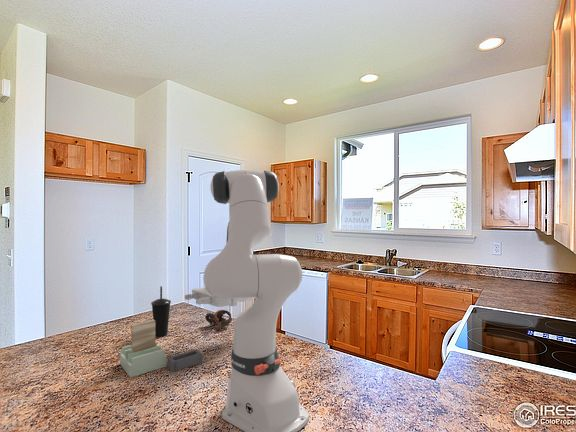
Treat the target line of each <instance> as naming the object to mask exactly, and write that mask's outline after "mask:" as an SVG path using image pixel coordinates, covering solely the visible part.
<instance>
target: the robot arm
mask: <svg viewBox="0 0 576 432" xmlns="http://www.w3.org/2000/svg"><path fill="white" fill-rule="evenodd" d="M209 186H210V187H209V188H210V192H211V193H210V194H211V196H212V197H213V199H214V200H215V202H216V203H219V204H223V205H227V204H229V207H228V208H229V209H228V210H229V222H228V223H227V227H226V229H227V230H226V244H225V246H224V247H223V249H222V250H221V251H220V252H219V253H218V254H217V255H216V256H215V257H213V258H212V259H211V260H210V261H209V262H208V264H207V265H206V267H205V269H204V271H203V272H204V273H203V277H202V279H203V285H204V287H198V288H197V287H196V288H193V289H191V292H190V293H187V294H184V300H186V301H187V300H188V301H189V300H191V299H194V300H195V304H197V305H210V306H213V307H218V308H219V307H220V308H221V307H235V306H237V305H238V304H237V303H245V302H249V301H252V300H254V299H255V300H254V302H253V303H252V304H251V305H250V307H248V308H246V309H245V310H243V311H242V312H240V313H239V314H238V315H236V318H235V320H234V321H233V325H232V327H233V329H232V330H233V331H232V333H233V334H232V339H233V340H232V341H233V342H232V349H231V355H230V361H231V364H230V365H231V367H232V369H231V372H230V375H229V377H228V380H227V388H226V400H225V407H224V408H223V410H222V412H221V418H222V419H223V420H224V421H226V422H228V423H229V424H231V425H233V426H234V427H237V428H238V429H240V430H242V431H243V432H299V431H300V430H301V429H302V428H305V426H306V425H307V424H308V422H309V420H310V413H309V412H308V411H307V409H306V408H305V407H303V406H302V405H301V404H300V399H299V393H298V390H297V389H296V383H295V381H294V380H292V379H289V377H288V375H287V373H285V371H284V370H283V368H282V366H281V363H282V362H283V357H280V356H279V352H278V349H277V347H276V344H277V343H276V341H277V340H276V338H277V337H276V335H277V326H278V325H277V323H278V319H279V318H278V317H279V315H280V312H281V310H282V307H283V306H284V304H285V302H286V301H287V299H289V298H290V296H292V295H293V293H295V292H296V291H297V290H298V289H299V288H300V285H301V284H302V280H303V269H302V266H301V264H300V262H299V260H298V259H297V258H296V257H294V256H293V255H286V254H281V253H267V254H266V253H265V254H263V253H262V254H252V252H251V249H252V248H253V247H255V246H257V245H259V244H262V243H263V242H264V241H266V239H267V238H268V237H269V236H270V234H271V233H270V232H271V221H270V213H269V205H268V203H271V202H273V201H275V200H276V199H277V197H278V194H279V191H280V184H279V180H278V177H277V175H276V173H275V172H273V171H271V170H270V171H269V170H264V171H260V170H245V169H239V170H230V171H225V170H223V171H218V172H216V173H215V174H214V175H213V176H212V179H211V182H210V185H209Z"/></svg>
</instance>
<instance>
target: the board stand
mask: <svg viewBox="0 0 576 432" xmlns="http://www.w3.org/2000/svg"><path fill="white" fill-rule="evenodd" d="M201 363H203V352H201V351H200V350H198V349H197V348H196V349H192V350H190V351H186V352H182V353H178V354H176V355H172V356H169V357H167V368H168V369H169V370H170V371H171V372H172V373H173V372H177V371H180V370H183V369H186V368H188V367H192V366H196V365H198V364H201Z"/></svg>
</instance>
